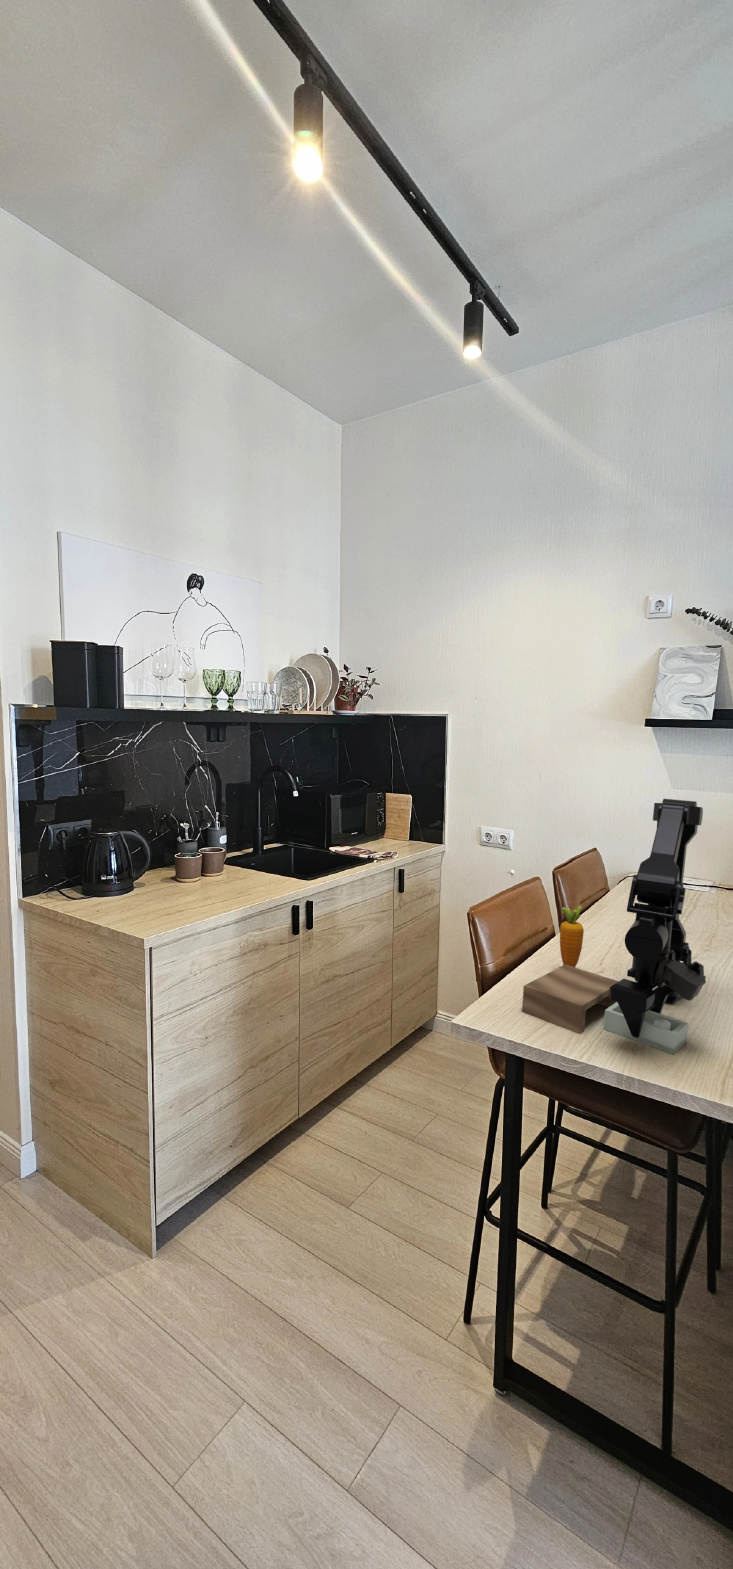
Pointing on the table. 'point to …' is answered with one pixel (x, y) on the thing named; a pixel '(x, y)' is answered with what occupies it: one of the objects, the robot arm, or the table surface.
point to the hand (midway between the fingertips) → (644, 1029)
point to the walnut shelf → (566, 996)
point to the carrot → (571, 937)
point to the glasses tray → (649, 1029)
